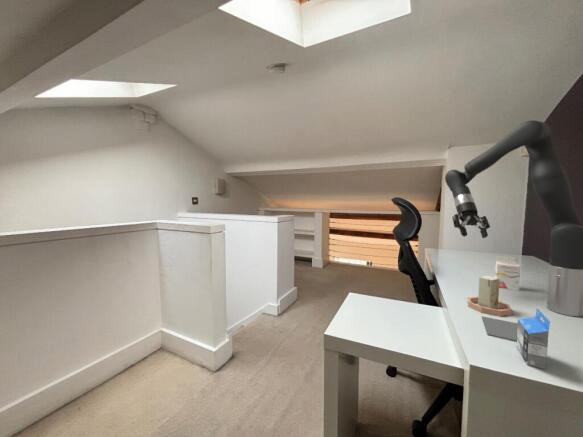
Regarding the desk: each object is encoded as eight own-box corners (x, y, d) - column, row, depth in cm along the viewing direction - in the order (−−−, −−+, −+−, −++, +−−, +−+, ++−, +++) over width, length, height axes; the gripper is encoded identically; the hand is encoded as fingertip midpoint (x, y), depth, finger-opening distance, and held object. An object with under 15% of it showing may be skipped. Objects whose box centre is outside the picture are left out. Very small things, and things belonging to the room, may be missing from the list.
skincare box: (490, 312, 90) (491, 280, 90) (477, 307, 94) (478, 277, 94) (498, 308, 93) (500, 277, 93) (485, 304, 97) (486, 275, 97)
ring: (506, 306, 96) (506, 301, 96) (513, 318, 85) (514, 313, 85) (466, 299, 103) (466, 294, 103) (469, 310, 92) (469, 305, 92)
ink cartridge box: (495, 287, 117) (497, 257, 117) (494, 284, 122) (495, 255, 121) (519, 290, 113) (521, 259, 112) (516, 287, 117) (518, 257, 116)
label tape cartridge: (515, 347, 68) (517, 304, 68) (534, 351, 66) (536, 307, 66) (526, 365, 61) (528, 317, 60) (547, 370, 59) (550, 321, 58)
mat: (527, 326, 80) (527, 325, 80) (541, 347, 68) (541, 346, 68) (481, 317, 86) (481, 316, 86) (487, 335, 74) (487, 333, 74)
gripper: (454, 200, 110) (464, 231, 103) (486, 202, 110) (498, 234, 102) (445, 208, 117) (453, 238, 109) (475, 210, 116) (485, 241, 109)
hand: (475, 236), depth 106 cm, fingers open, 8 cm apart
